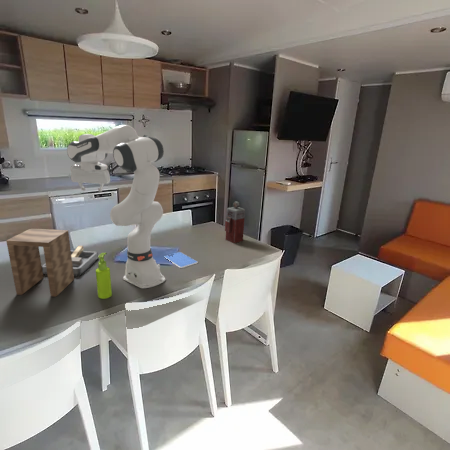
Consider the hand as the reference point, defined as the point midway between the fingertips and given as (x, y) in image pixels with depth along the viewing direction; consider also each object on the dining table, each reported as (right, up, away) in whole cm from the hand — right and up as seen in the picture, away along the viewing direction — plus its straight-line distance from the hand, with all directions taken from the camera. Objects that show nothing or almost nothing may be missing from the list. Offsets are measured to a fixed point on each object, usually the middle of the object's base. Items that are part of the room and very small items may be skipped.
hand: (91, 191), depth 165 cm
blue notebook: (+47, -40, +12) cm, 63 cm away
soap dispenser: (+18, -51, -27) cm, 61 cm away
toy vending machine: (+79, -30, +47) cm, 97 cm away
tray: (-11, -41, -1) cm, 42 cm away
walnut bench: (-11, -48, -23) cm, 54 cm away
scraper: (-10, -37, +3) cm, 38 cm away
